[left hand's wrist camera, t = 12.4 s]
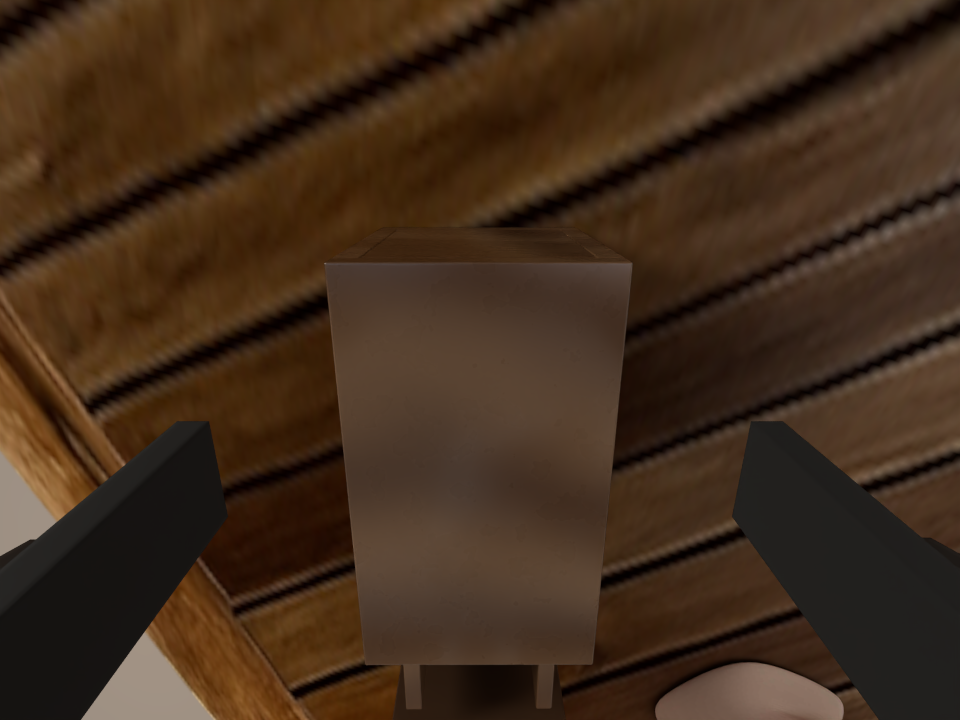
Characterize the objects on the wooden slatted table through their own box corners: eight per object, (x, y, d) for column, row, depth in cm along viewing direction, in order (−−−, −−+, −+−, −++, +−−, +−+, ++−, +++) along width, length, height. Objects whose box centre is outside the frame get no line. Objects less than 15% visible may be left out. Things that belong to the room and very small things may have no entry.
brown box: (558, 514, 34) (592, 665, 23) (399, 514, 34) (364, 665, 23) (575, 227, 28) (633, 262, 17) (381, 227, 28) (323, 262, 17)
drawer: (542, 675, 37) (561, 822, 29) (415, 675, 37) (397, 823, 29) (558, 383, 30) (590, 468, 21) (398, 383, 30) (366, 468, 21)
